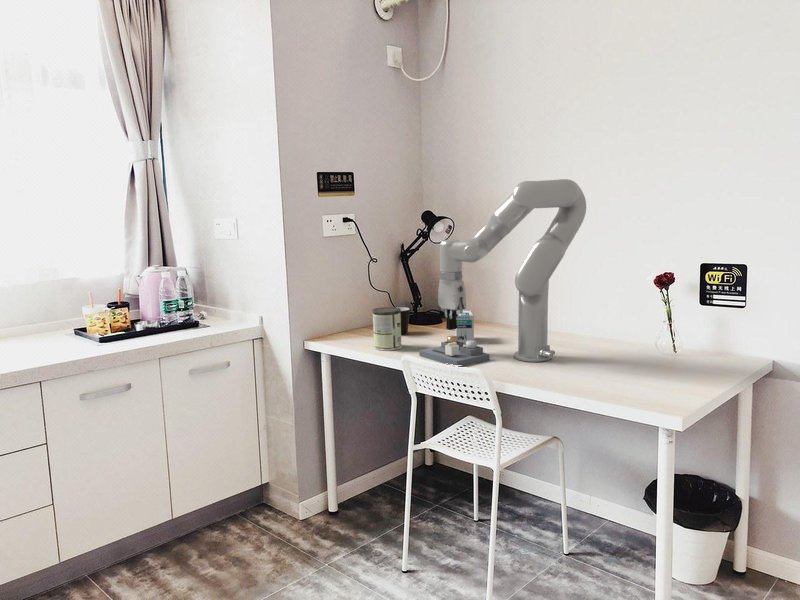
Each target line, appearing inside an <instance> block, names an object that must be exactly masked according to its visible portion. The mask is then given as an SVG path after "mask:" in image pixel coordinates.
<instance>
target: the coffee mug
mask: <svg viewBox="0 0 800 600" xmlns="http://www.w3.org/2000/svg"><path fill="white" fill-rule="evenodd" d="M395 308H400V309H401V311H400V317H401V336H405V335H408V332H409V330H408V329H409V323H410V322H409V320H410V310H411V309H410V308H409V307H404V306H400V307H396V306H395Z"/></svg>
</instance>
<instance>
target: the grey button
mask: <svg viewBox="0 0 800 600" xmlns="http://www.w3.org/2000/svg"><path fill="white" fill-rule="evenodd" d="M477 343H478V342H477V340H475V339H474V340H469V341H466V344H465V346H466V348H467V349H476V348H477V346H478V344H477Z"/></svg>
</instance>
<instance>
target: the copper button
mask: <svg viewBox="0 0 800 600" xmlns="http://www.w3.org/2000/svg"><path fill="white" fill-rule="evenodd" d="M446 341H447V343H453V342H457V336H455V335H447V336H446Z"/></svg>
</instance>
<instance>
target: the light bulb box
mask: <svg viewBox="0 0 800 600" xmlns="http://www.w3.org/2000/svg"><path fill="white" fill-rule="evenodd" d="M474 322H475V321H474V314H473V312H472V310H463V313H462V314H459V315H458V317H457V318H456V329H454V336H457V341H459V342H463V345H464V344H465V345H466V341H469V340H474V341H475V333H474V331H475V330H474V328H475V326H474Z"/></svg>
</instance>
